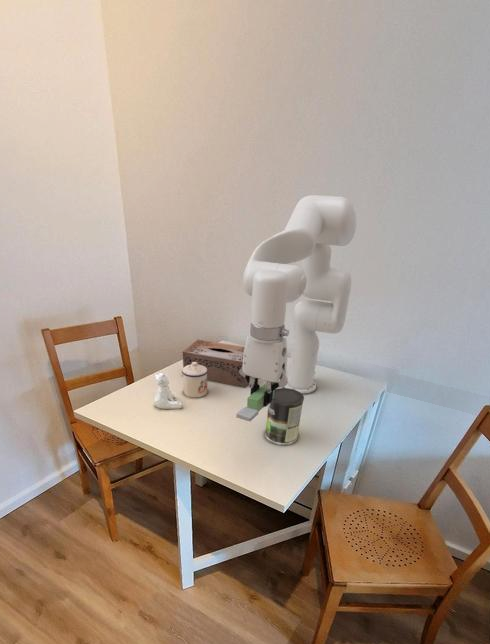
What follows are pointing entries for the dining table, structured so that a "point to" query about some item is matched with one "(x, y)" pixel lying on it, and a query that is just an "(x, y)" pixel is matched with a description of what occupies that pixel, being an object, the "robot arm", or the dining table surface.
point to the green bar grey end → (253, 404)
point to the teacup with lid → (195, 380)
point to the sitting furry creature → (164, 394)
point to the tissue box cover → (217, 361)
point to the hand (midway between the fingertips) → (260, 402)
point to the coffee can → (284, 416)
